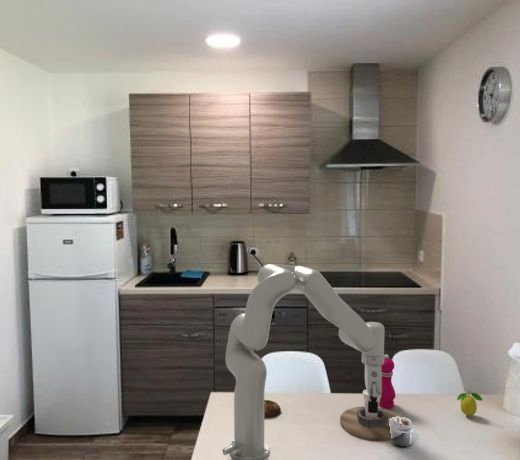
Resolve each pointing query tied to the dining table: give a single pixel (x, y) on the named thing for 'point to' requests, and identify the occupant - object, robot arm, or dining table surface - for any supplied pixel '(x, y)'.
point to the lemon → (469, 403)
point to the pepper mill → (387, 384)
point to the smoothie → (366, 399)
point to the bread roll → (271, 408)
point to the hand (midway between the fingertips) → (371, 407)
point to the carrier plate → (367, 423)
